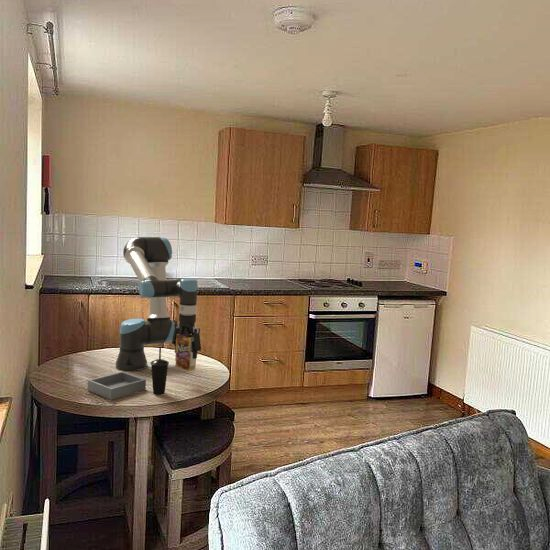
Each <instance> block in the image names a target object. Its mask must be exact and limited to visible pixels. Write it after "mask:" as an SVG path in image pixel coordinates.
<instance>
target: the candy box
mask: <svg viewBox="0 0 550 550" xmlns="http://www.w3.org/2000/svg"><path fill="white" fill-rule="evenodd" d="M192 341H194V337H187V335H186V334H181V335H180V334H177V338H176V353H175V356H176V361H175V367H177V368H179V369H183V370H185V371H188V372H191V371H194V370H196V365H194V366H190V359H191V351H192V348H191V345H192ZM194 349H195V348H194Z"/></svg>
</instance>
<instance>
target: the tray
mask: <svg viewBox="0 0 550 550" xmlns="http://www.w3.org/2000/svg"><path fill="white" fill-rule="evenodd" d="M146 382H147V379H145V378H142V377H140V376H136V375H133V374H131V373H128V372H126V371H120V372H115V373H112V374H107V375H103V376H99V377H96V378H91V379H88V380H87V391H88V392H90V391H91V393H93V394H95V393H96V395H98V394H99V395H98V396H100V395H101V397H103V398H105V399H108V400H111V401H112V400H115V399H116V400H117V399H119V398H122V397H126V396H129V395H131V394H132V395H133V394H135V392H136V393H138V391H139V392H142V391H145V390H147V389H146V386H147V384H146Z"/></svg>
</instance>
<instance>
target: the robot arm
mask: <svg viewBox="0 0 550 550" xmlns="http://www.w3.org/2000/svg"><path fill="white" fill-rule="evenodd" d="M123 257H124V260H125V262H126V263H128V264H129V265H130V267H131V269H132V270H133V272H134V274H135V275H136V277H137V279H138V281H139V285H138V292H139V295H140V297H141V298H146V299H147V298H148V299H149V315H148V316H147V317H146V321H145V319H144V318H130V319H126V320H123V321H122V322H121V323H120V328H119V352H118V356H117V358H116V361H115V368H116V369H118V370H121V371H125V372H126V371H130V372H133V371H141V370H144V369H145V368H147V367H148V359H147V357H146V354H145V346H146V345H147V346H149V345H159V344H160V345H164V344H168V343H170V342H171V345H174V353H175V354H176V338H177V334H180V335H181V334H186V335H187V337H194V341H192V345H191V348H192V351H191V359H190V366H194V365H195V366H196V364H197V358H198V352H200V351H202V344H201V343H202V342H201V337H200V336H201V335H200V332H201V329H200V327H196V326H195V324H196V322H197V315H196V314H197V305H198V303H197V302H198V288H199V287H198V280H197V279H196V278H190V277H187V278H185V277H184V278H182V279H181V278H173V279H167V278H166V275H167V273H166V267H167V265H168V264H169V261H170V260H171V259H172V257H173V248H172V244H171V242H170V241H169V239H168V238H166V237H160V236H154V237H153V236H136V237H133V238H130V240H127V242H126V244H125V245H124V247H123ZM168 297H169V298H170V297H172V298H173V297H178V298H179V310H178V312H179V314H178V322H177V323H175V321H174V320H172V319H171V316H170V315H169V313H168V301H167V300H168V299H167V298H168ZM194 348H195V349H194ZM175 362H176V355H175ZM140 369H141V370H140Z"/></svg>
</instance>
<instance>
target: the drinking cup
mask: <svg viewBox="0 0 550 550" xmlns="http://www.w3.org/2000/svg"><path fill="white" fill-rule="evenodd" d="M158 349H159V352H158V353H159V354H158V358H157V359H154V360H152V361H150V365H151V366H150V367H151V368H150V369H151V382H152V394H153V395H156V396H162V394H163V395H164V394H165V392H166V384H167V377H168V369H169V368H168V367H169V364H170V362H169V361H168V360H166V359H161V358H162V348H161V347H159V348H158Z"/></svg>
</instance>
